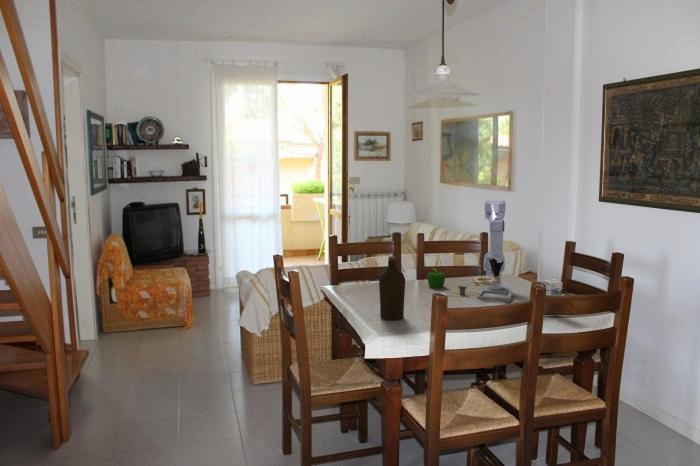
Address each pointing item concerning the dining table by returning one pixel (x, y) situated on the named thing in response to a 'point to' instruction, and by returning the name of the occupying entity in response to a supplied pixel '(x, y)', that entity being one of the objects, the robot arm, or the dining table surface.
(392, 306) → the olive oil
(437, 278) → the bell pepper
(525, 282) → the dining table surface
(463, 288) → the base
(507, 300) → the slate tray
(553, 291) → the syrup box
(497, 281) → the tan frame with tab
